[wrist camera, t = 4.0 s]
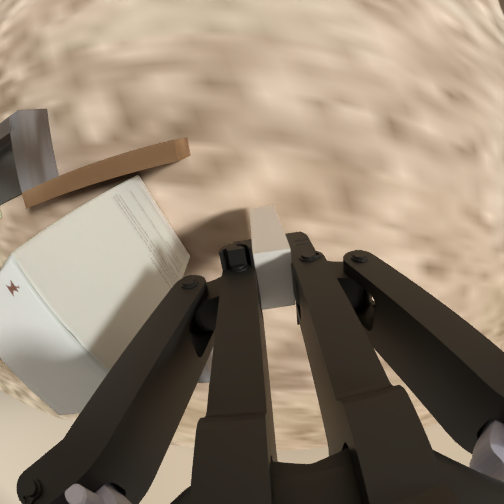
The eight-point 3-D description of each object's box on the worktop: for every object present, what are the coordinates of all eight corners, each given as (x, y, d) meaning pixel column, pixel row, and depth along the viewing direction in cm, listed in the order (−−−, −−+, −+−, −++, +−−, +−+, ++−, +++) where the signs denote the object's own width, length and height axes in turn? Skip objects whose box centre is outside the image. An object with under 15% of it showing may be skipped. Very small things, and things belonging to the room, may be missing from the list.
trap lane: (-41, 173, 15) (-62, 182, 12) (174, 57, 14) (159, 42, 11) (32, 351, 25) (20, 369, 22) (235, 351, 24) (235, 380, 21)
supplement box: (72, 222, 18) (-37, 315, 7) (140, 171, 17) (9, 249, 6) (123, 294, 21) (57, 418, 10) (194, 258, 20) (148, 408, 9)
